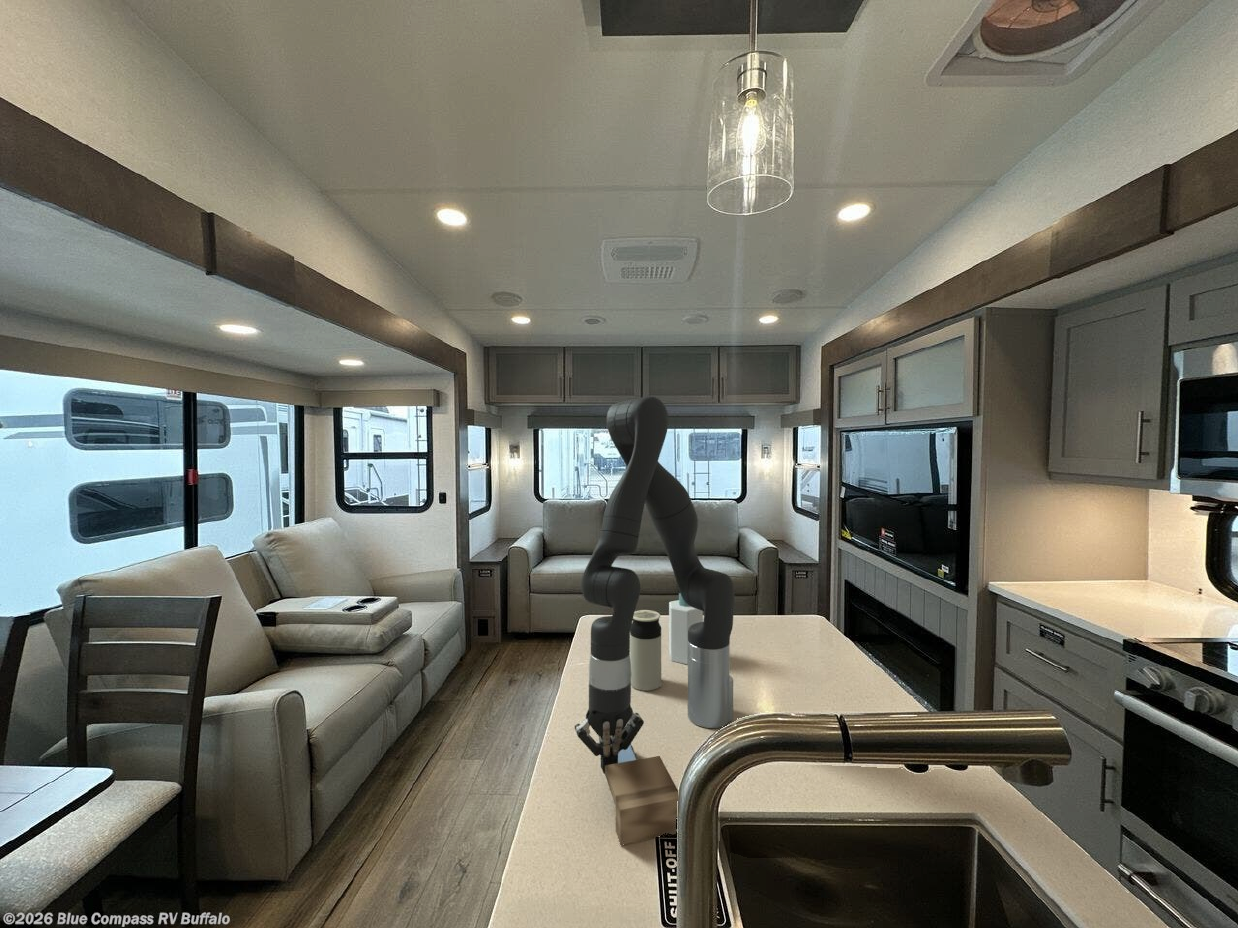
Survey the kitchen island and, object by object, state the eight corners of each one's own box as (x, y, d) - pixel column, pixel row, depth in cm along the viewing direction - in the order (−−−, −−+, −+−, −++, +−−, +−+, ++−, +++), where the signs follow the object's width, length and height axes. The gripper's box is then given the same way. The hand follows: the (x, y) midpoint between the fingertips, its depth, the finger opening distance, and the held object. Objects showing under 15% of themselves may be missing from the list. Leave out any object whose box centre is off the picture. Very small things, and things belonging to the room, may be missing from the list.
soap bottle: (704, 665, 132) (704, 586, 131) (671, 664, 132) (671, 586, 132) (698, 649, 142) (699, 577, 142) (668, 649, 143) (668, 576, 142)
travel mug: (659, 693, 117) (659, 621, 116) (627, 690, 119) (627, 619, 118) (662, 677, 125) (662, 610, 124) (633, 675, 126) (632, 608, 126)
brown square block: (659, 786, 85) (659, 755, 84) (681, 832, 74) (681, 797, 74) (605, 796, 82) (604, 765, 82) (620, 845, 72) (620, 809, 72)
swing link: (603, 742, 95) (603, 726, 95) (627, 739, 96) (627, 723, 96) (622, 801, 79) (622, 782, 79) (650, 796, 80) (650, 777, 80)
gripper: (636, 663, 90) (635, 753, 91) (568, 673, 86) (568, 767, 86) (652, 681, 83) (651, 778, 84) (579, 693, 79) (578, 795, 79)
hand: (609, 772), depth 85 cm, fingers closed
